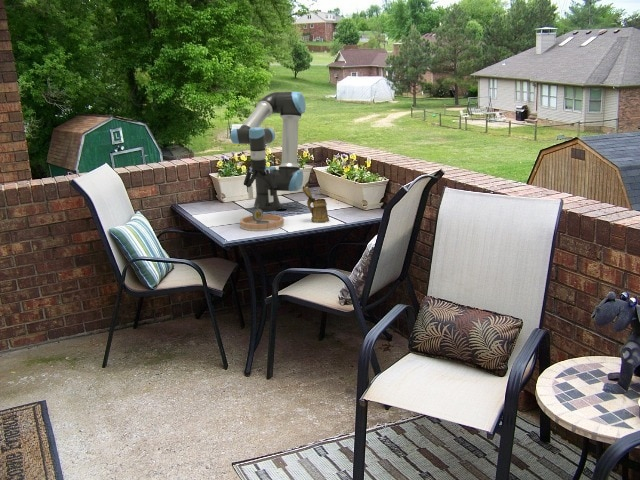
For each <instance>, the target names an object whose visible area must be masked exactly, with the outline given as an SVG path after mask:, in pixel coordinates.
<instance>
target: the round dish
mask: <svg viewBox="0 0 640 480" xmlns="http://www.w3.org/2000/svg"><path fill="white" fill-rule="evenodd" d="M256 218H258V217H256ZM284 220H285V219H284V217H283V216H282V215H278V214H264V213H263V217H262V219H261V220H260V221H269V223H265V224H256V222H257V221H255V220H253V217H252V215H248V216H244V217H242V218H240V219H239V225H240V227H239V228H240V229H242V230H245V231H253V232H257V231H258V232H259V231H260V232H262V231H265V232H266V231H273V230H276V229H280V228H282V227H283V226H284V223H285V221H284Z"/></svg>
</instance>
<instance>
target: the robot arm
mask: <svg viewBox="0 0 640 480" xmlns="http://www.w3.org/2000/svg"><path fill="white" fill-rule="evenodd" d="M305 99H306V98H305V97H304V95H303V93H302V92H300V91H274V92H271V93H268V94H267V95H265V96H264V97H262V98H261V99H260V100H259V101H258V102H257V103H256V105H255V109H254V110H253V111H252V113H250V115H249V116H248V117H247V119H246V120H245V121H244V122H243V123H242V125H240V127H239V128H233V129H231V131H230V137H229V138H230V141H231V142H232V143H233V144H235V145H236V144H237V145H249V148H250V149H249V152H250V153H249V154H250V159H251V160H250V167H247V168H246V174H245V177H244V181H243V186H246V192H247V195H248V200H249V201H250V200H253V199H254V191H253V186H252V185H253V183H254V182H255V193H256V196H255V200H254V204H253V211H254V210H255V209H257V206H258V204H259V207H258V209H261V210H262V212H272V211H277V210H280V209H281V208H282V207H281V206H282V204H281V202H280V200H279V196H278V191H279V192H280V191H281V192H285V191H286V192H298V191H299V190H300V189H301V188H302V187H303V182H304V172H303V171H302V170H301V168H300V165H299V164H298V152H299V151H298V148H299V144H298V143H299V142H298V141H299V121H300V119H301V118H302V115H303V114H304V113H306V100H305ZM273 114H280V115H279V116H280V118H282V136H281V137H282V138H281V139H282V140H281V144H282V145H281V164H279V166H278V169H277V167H276V166H267V159H266V158H267V155H266V154H267V153H266V145H268V144H270V143H272V142H274V140H275V139H276V134H275V131H274V130H273V129H272V128H270V127H268V128H267V127H266V128H265V127H262V126H261V125H262V124H263V123H264V122H265V120H266V119H267V118H269V117H271V116H272V115H273ZM255 205H256V207H255Z"/></svg>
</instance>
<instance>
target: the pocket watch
mask: <svg viewBox="0 0 640 480" xmlns="http://www.w3.org/2000/svg"><path fill="white" fill-rule="evenodd" d="M255 207H256V205H255ZM258 207H259V204H258V206H257V209H255V210H254V209H253V212H252V215H251V216H252V217H253V220H255V221H257V222H256V224H265V223H269V221H260V220H261V219H262V217H263V214H264V211H262V210H261V209H258ZM256 217H258V218H256Z"/></svg>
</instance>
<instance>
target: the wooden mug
mask: <svg viewBox="0 0 640 480" xmlns="http://www.w3.org/2000/svg"><path fill="white" fill-rule="evenodd" d="M302 192H303V193H304V195H305V197H307V198H308V199H307V202H306V204H307V208H308V209H309V211H310V213H311V222H312V223H316V224H319V223H327V222H329V221H330V217H329V214H328V208H327V202H326V201H327V200H326V199H325V198H316V197H313V195H312V193H311V191H310V190H309V189H308V188H307V187H306V186H304V185H302ZM311 204H312V205H311Z"/></svg>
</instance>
